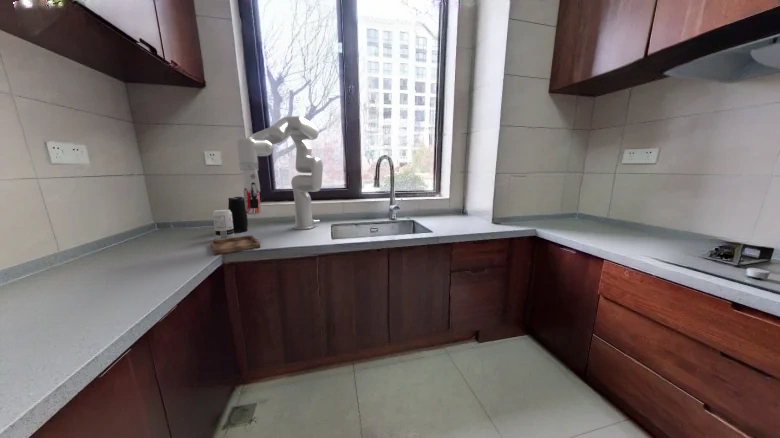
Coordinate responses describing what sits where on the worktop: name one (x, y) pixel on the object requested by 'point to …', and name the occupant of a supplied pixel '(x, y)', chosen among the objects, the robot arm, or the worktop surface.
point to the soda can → (247, 203)
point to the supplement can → (223, 224)
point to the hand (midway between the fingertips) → (252, 206)
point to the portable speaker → (238, 214)
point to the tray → (234, 244)
